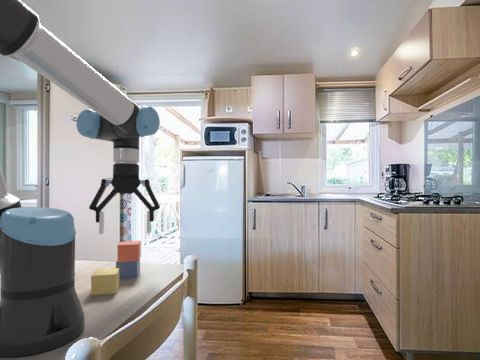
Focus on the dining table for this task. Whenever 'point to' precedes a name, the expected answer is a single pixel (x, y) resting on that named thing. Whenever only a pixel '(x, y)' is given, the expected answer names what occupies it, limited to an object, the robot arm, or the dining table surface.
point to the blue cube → (128, 269)
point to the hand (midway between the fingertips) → (125, 233)
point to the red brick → (129, 251)
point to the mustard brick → (105, 281)
